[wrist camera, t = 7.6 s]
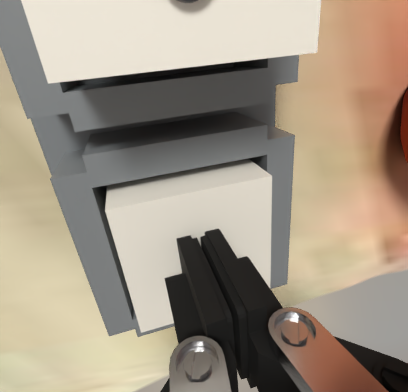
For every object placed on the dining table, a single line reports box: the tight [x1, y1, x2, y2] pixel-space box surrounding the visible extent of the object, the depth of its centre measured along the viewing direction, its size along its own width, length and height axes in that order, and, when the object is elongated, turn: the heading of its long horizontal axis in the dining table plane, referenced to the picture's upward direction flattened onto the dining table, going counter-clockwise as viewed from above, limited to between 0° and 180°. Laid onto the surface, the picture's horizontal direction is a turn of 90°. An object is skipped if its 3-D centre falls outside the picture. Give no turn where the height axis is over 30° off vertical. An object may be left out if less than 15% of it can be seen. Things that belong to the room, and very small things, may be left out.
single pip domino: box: [105, 158, 272, 333], centre depth 13 cm, size 6×6×4 cm
